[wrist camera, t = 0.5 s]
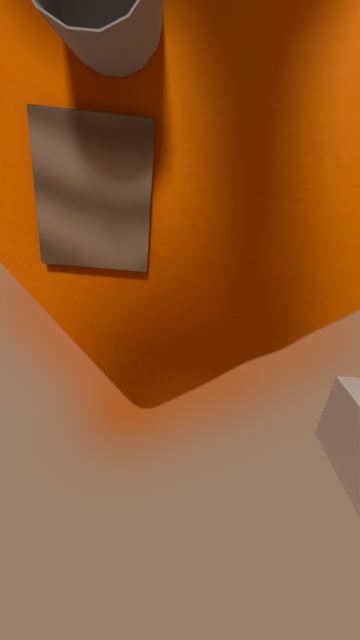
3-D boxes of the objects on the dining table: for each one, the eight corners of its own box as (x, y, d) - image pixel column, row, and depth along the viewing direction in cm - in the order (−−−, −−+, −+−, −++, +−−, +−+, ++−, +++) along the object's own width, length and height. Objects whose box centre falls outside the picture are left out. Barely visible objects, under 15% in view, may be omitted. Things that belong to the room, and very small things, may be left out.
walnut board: (32, 106, 28) (26, 103, 27) (155, 120, 29) (154, 118, 28) (45, 260, 34) (41, 263, 33) (147, 269, 35) (146, 272, 34)
